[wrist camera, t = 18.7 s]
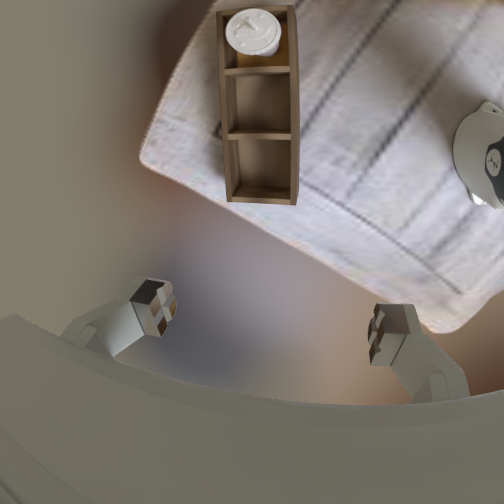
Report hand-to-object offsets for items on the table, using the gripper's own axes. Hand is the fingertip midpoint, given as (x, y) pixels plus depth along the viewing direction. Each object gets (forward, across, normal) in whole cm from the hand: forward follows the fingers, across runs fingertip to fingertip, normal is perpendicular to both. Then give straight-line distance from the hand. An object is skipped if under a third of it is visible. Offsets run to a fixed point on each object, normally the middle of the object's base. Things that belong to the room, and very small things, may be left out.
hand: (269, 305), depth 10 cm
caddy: (+35, +6, -7) cm, 36 cm away
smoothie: (+34, +5, -16) cm, 38 cm away
